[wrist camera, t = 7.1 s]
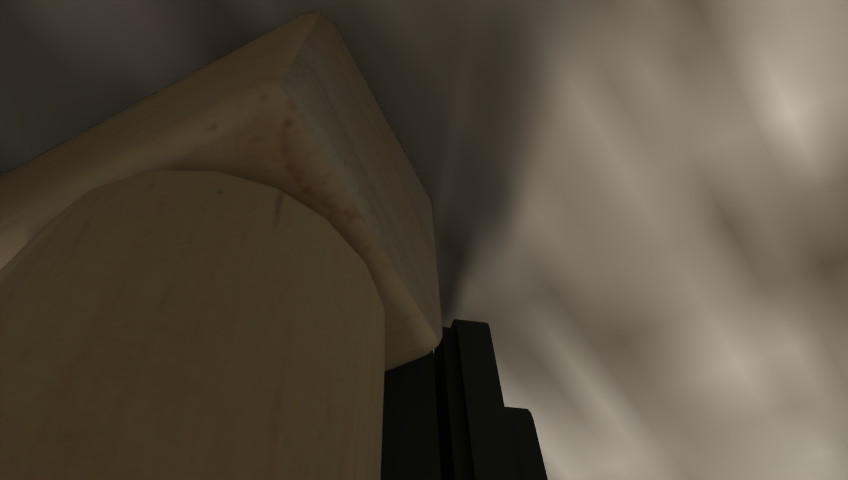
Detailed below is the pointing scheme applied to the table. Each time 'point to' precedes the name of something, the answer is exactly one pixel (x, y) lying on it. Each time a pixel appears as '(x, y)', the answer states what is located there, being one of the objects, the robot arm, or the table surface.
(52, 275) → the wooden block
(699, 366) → the table surface
